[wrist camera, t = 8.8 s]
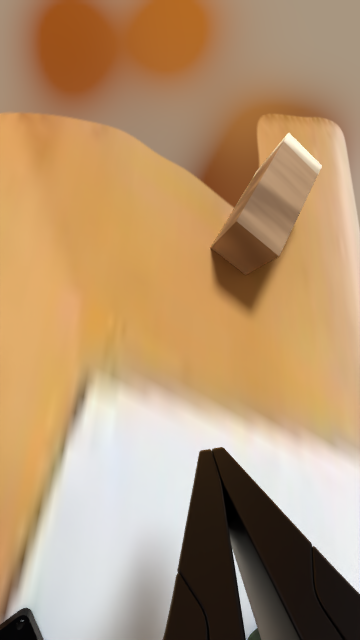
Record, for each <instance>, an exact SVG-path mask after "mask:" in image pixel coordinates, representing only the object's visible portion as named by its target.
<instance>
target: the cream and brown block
mask: <svg viewBox="0 0 360 640" xmlns="http://www.w3.org/2000/svg"><path fill="white" fill-rule="evenodd" d="M321 167H322V165H321V164H320V163H319V162H318V161H317V160H316V159H315V158H314V157H313V156H312V155H311V154H310V153H309V152H308V151H307V150H306V149H305V148H304V147H303V146H302V145H301V144H300V143H299V142H298V141H297V140H296V139H295V138H294V137H293V136H292V135H291V134H290V133H288V134H287V135H286V136H285V137H284V139H283V140H282V141H281V142H280V143H279V145H278V146H277V147H276V148H275V150H274V151H273V152H272V153H271V154H270V156H269V157H268V158H267V159H266V160H265V162H264V163H263V164H262V165H261V167H260V168H259V169H258V170H257V172H256V173H255V175H254V176H253V178H252V180H251V181H250V183H249V185H248V187H247V188H246V190H245V191H244V193H243V195H242V196H241V198H240V200H239V201H238V203H237V204H236V206H235V208H234V209H233V211H232V213H231V214H230V216H229V218H228V219H227V221H226V223H225V224H224V226H223V228H222V229H221V231H220V233H219V234H218V236H217V238H216V239H215V241H214V242H213V244H212V246H211V247H210V248H211V249H213V250H214V251H215V252H217V253H218V254H219V255H221V256H222V257H223V258H224V259H226V260H227V261H228V262H230V263H231V264H232V265H234V266H235V267H236V268H237V269H239V270H240V271H241V272H243V273H244V274H245V275H247V274H248V273H250V272H252V271H254V270H256V269H257V268H259V267H261V266H263V265H265V264H266V263H268V262H270V261H272V260H274V259H275V258H277V257H279V256H280V254H281V251H282V249H283V247H284V245H285V243H286V241H287V239H288V237H289V235H290V233H291V230H292V228H293V226H294V224H295V222H296V220H297V218H298V216H299V214H300V211H301V209H302V207H303V205H304V203H305V201H306V199H307V197H308V195H309V193H310V190H311V188H312V186H313V184H314V182H315V180H316V178H317V176H318V174H319V172H320V169H321Z"/></svg>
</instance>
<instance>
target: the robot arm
mask: <svg viewBox="0 0 360 640" xmlns="http://www.w3.org/2000/svg"><path fill="white" fill-rule="evenodd" d="M232 549H233V552H234V555H235V558H236V561H237V565H238V568H239V571H240V574H241V577H242V580H243V583H244V587H245V590H246V593H247V596H248V599H249V602H250V605H251V609H252V612H253V615H254V618H255V621H256V624H257V627H258V631H259V634H260V637H261V640H360V594H359V593H358V592H357V591H356V590H355V589H354V588H353V587H352V586H351V585H350V584H349V583H348V582H347V581H346V579H345V578H344V577H343V576H342V575H341V574H340V573H339V572H338V571H337V570H336V569H335V568H334V567H333V566H332V565H331V564H330V563H329V562H328V561H327V559H326V558H325V557H324V556H323V555H322V554H321V553H320V552H319V551H318V550H317V549H316V547H314V546H313V547H312V544H311V542H310V541H309V540H308V539H307V538H306V537H305V536H304V535H303V534H302V532H301V531H300V530H299V529H298V528H297V527H296V526H295V525H294V524H293V523H292V522H291V520H290V519H289V518H288V517H287V516H286V515H285V514H284V513H283V512H282V511H281V510H280V509H279V507H278V506H277V505H276V504H275V503H274V502H273V501H272V500H271V499H270V498H269V497H268V495H267V494H266V493H265V492H264V491H263V490H262V489H261V488H260V487H259V486H258V485H257V484H256V482H255V481H254V480H253V479H252V478H251V477H250V476H249V475H248V474H247V473H246V472H245V470H244V469H243V468H242V467H241V466H240V465H239V464H238V463H237V462H236V461H235V460H234V459H233V457H232V456H231V455H230V454H229V453H228V452H227V451H226V450H225V449H224V448H223V447H220V448H214V449H212V451H211V450H210V449H208V450H202V451H200V452H199V457H198V462H197V468H196V473H195V479H194V484H193V489H192V495H191V500H190V506H189V511H188V516H187V522H186V527H185V533H184V538H183V543H182V549H181V554H180V559H179V565H178V574H177V575H176V580H175V585H174V591H173V596H172V601H171V605H170V610H169V615H168V620H167V624H166V629H165V633H164V637H163V640H246V638H245V631H244V625H243V618H242V611H241V605H240V598H239V592H238V585H237V578H236V572H235V565H234V559H233V552H232ZM19 620H24V621H23V622H19ZM0 640H43V639H42V636H41V634H40V632H39V629H38V627H37V624H36V622H35V620H34V617H33V615H32V613H31V611H30V609H28V608H23V609H21V610H19V611H18V612H17V613H15V614H14V615H13V616H11V617H10V618H9V619H7V620H6V621H5V622H3V623H2V624H1V625H0Z"/></svg>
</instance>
